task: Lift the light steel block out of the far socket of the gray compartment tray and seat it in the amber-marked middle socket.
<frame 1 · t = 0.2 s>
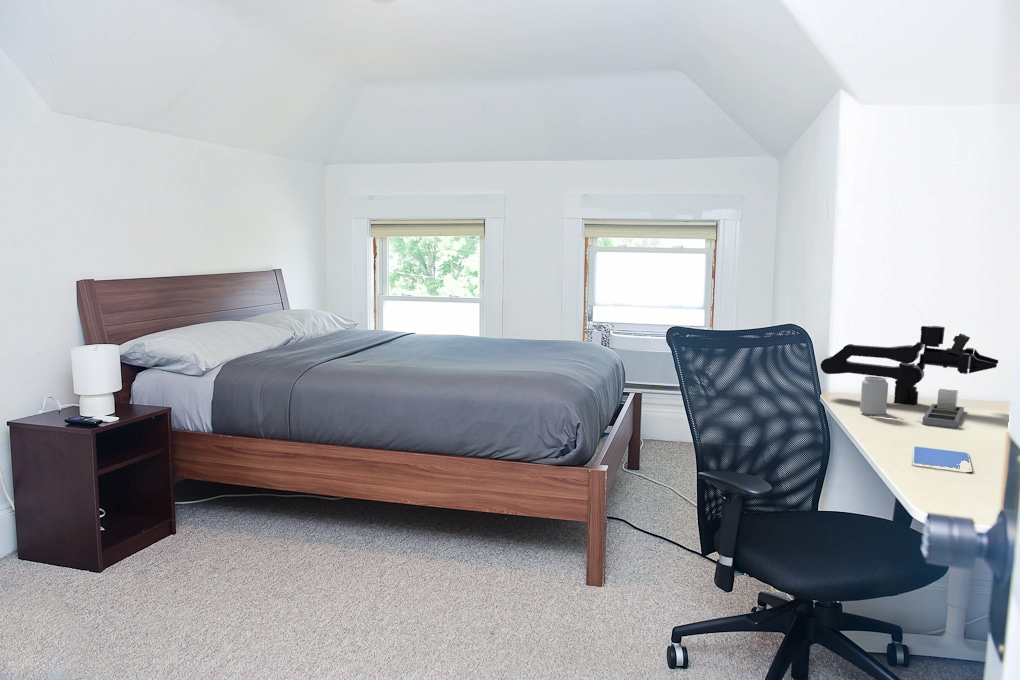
hand: (997, 363, 232), 16 cm above the table, tool horizontal, fingers open, 9 cm apart
tablet computer: (940, 463, 179), on the table
gray compartment tray: (943, 418, 227), on the table
can: (872, 415, 232), on the table
metal block: (946, 412, 234), point 1 cm above the table, touching gray compartment tray
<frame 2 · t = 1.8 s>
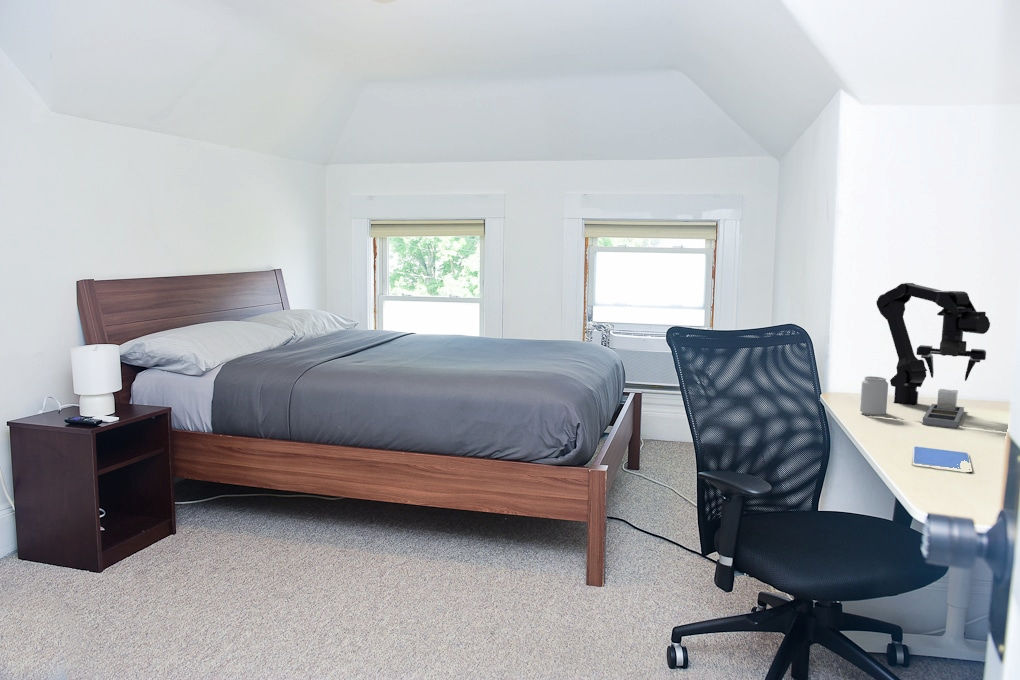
hand: (948, 379, 232), 11 cm above the table, tool pointing down, fingers open, 9 cm apart
nothing on the table moved.
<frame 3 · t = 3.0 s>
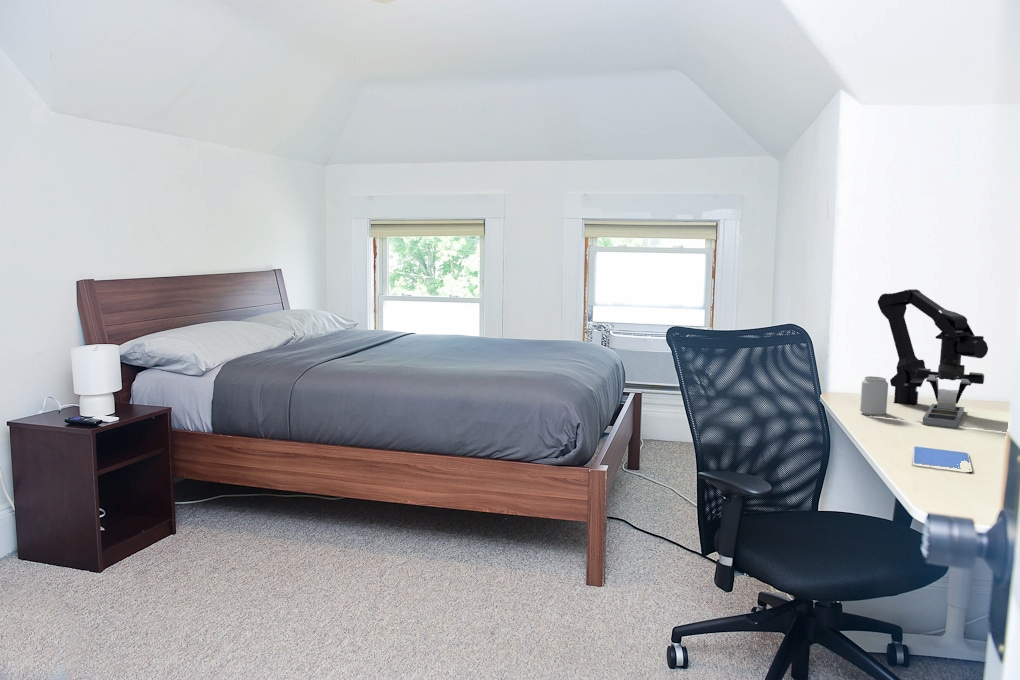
hand: (947, 402, 233), 4 cm above the table, tool pointing down, fingers closed on metal block, 5 cm apart
metal block: (946, 412, 234), point 1 cm above the table, touching gripper, gray compartment tray
everything else where it was.
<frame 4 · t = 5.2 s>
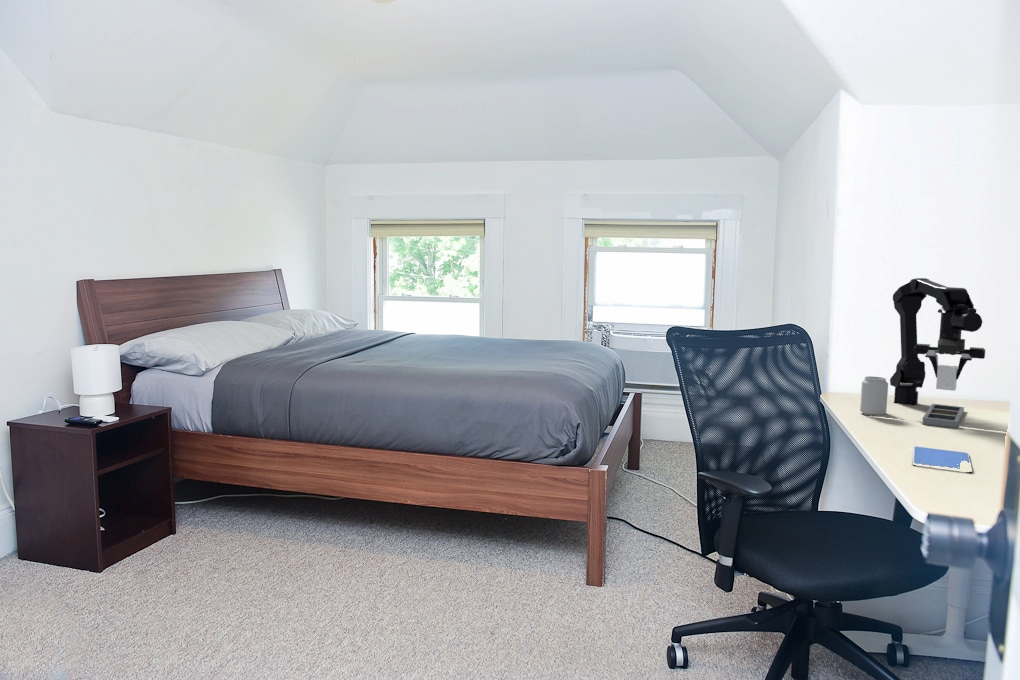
hand: (946, 378, 225), 13 cm above the table, tool pointing down, fingers closed on metal block, 5 cm apart
metal block: (946, 388, 226), point 9 cm above the table, touching gripper
everything else where it was.
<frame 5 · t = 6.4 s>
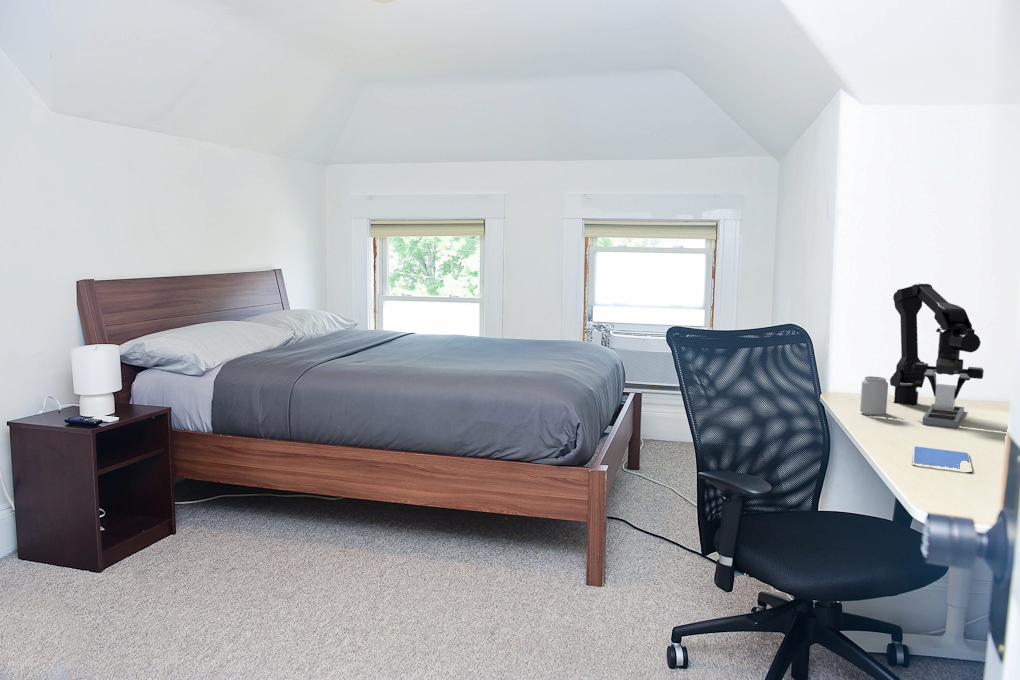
hand: (945, 397, 226), 7 cm above the table, tool pointing down, fingers closed on metal block, 5 cm apart
metal block: (944, 407, 226), point 3 cm above the table, touching gripper
everything else where it was.
when the fingers open (5 cm above the table, at t = 7.3 s): metal block stays where it is, resting on gray compartment tray.
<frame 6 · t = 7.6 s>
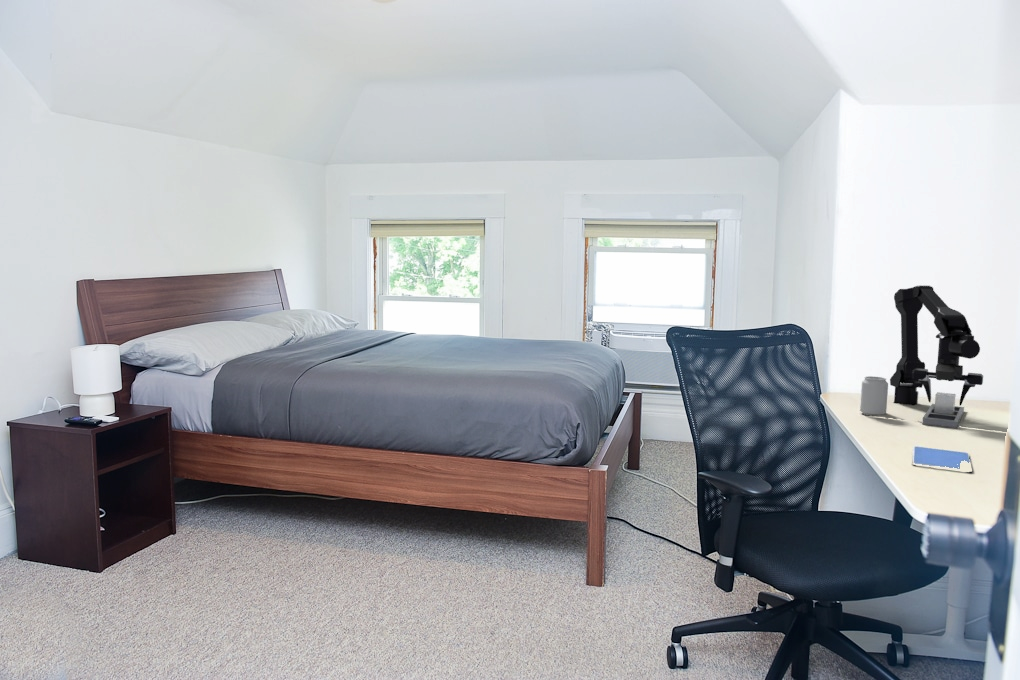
hand: (944, 403, 226), 5 cm above the table, tool pointing down, fingers open, 8 cm apart
metal block: (943, 416, 227), point 1 cm above the table, touching gray compartment tray
everything else where it was.
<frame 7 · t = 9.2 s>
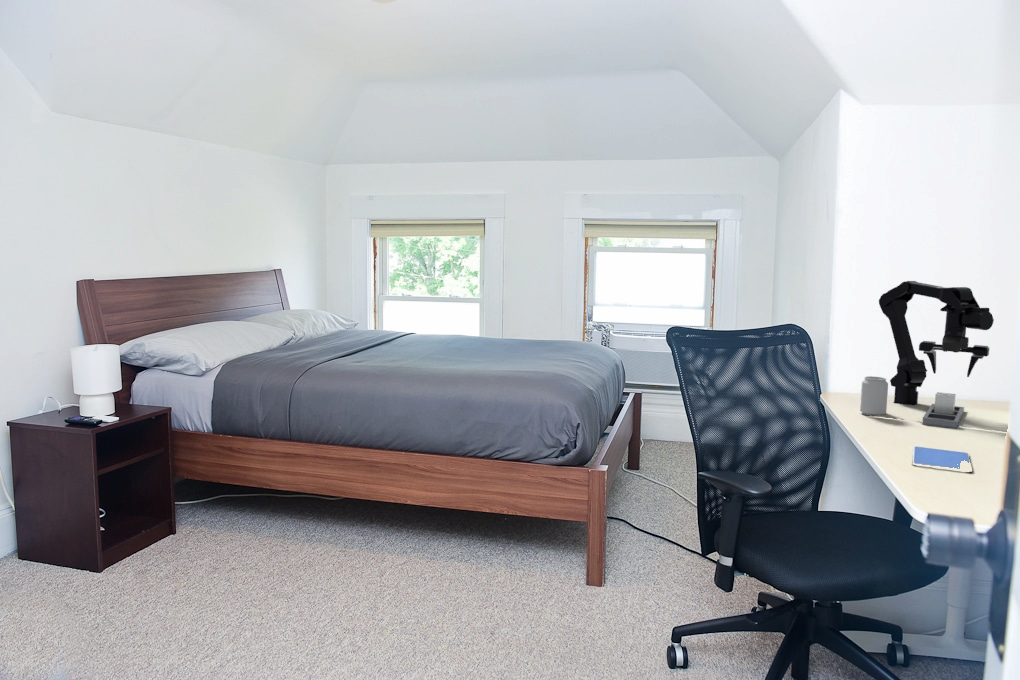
hand: (951, 375, 232), 13 cm above the table, tool pointing down, fingers open, 9 cm apart
nothing on the table moved.
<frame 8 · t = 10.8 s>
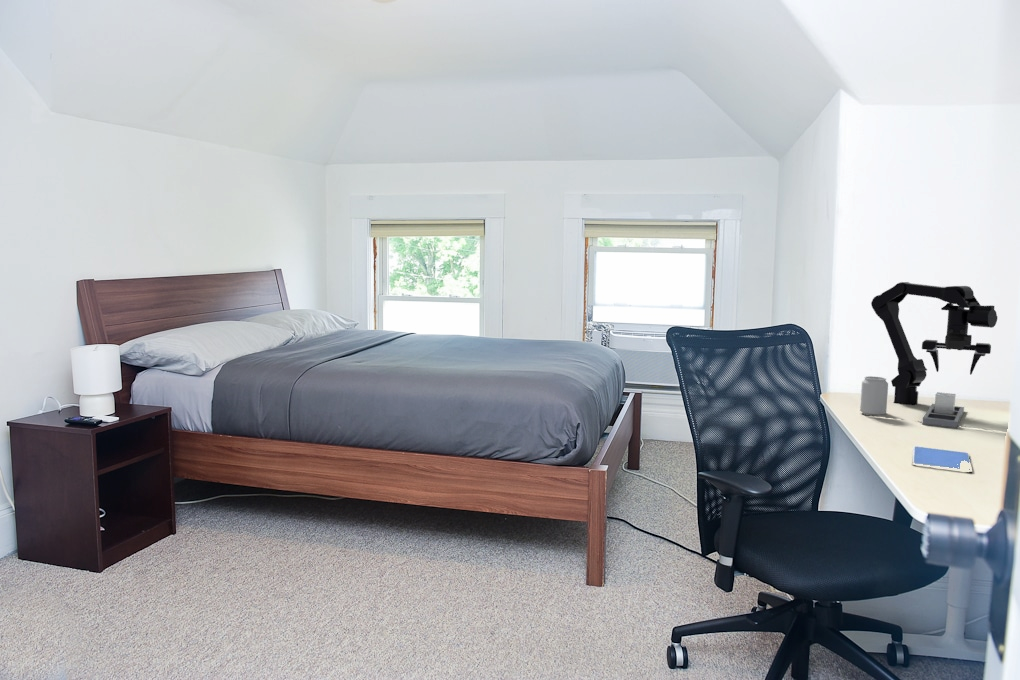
hand: (953, 373, 234), 13 cm above the table, tool pointing down, fingers open, 9 cm apart
nothing on the table moved.
at the end: metal block 0.0 cm off-centre on the gray compartment tray, point 0.7 cm above the gray compartment tray's base; metal block tilted 0°; the gripper is holding nothing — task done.
